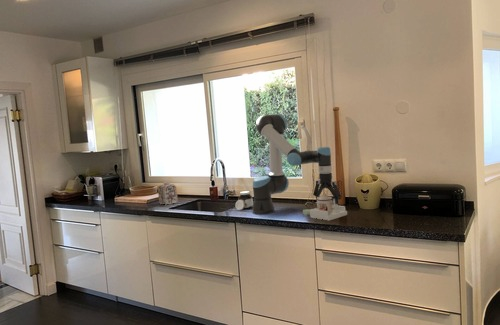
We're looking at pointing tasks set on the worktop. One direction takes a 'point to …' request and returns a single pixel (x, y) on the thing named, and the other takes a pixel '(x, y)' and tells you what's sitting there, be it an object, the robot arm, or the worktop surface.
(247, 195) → the spread jar
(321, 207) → the teacup with lid
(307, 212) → the clip
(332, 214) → the end holder
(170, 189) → the decorative jar
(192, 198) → the worktop surface
